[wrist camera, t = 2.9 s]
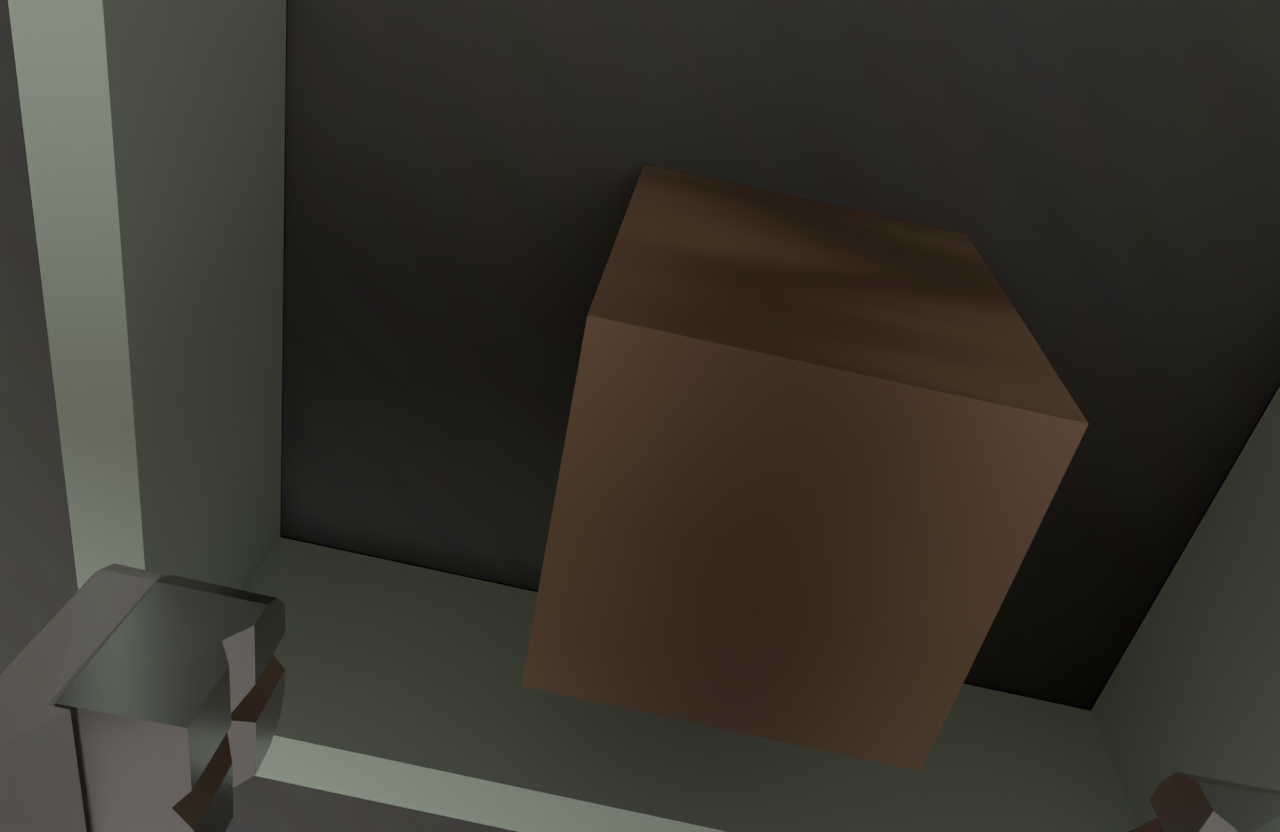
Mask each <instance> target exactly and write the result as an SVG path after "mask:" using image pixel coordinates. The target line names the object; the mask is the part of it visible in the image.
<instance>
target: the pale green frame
mask: <svg viewBox="0 0 1280 832" xmlns="http://www.w3.org/2000/svg"><path fill="white" fill-rule="evenodd" d="M8 5H9V13H10V21H11V30H12V38H13V47H14V55H15V63H16V72H17V80H18V88H19V97H20V105H21V114H22V122H23V130H24V139H25V147H26V156H27V164H28V172H29V181H30V189H31V197H32V206H33V214H34V223H35V231H36V239H37V248H38V256H39V265H40V273H41V281H42V290H43V298H44V307H45V315H46V323H47V332H48V340H49V348H50V357H51V365H52V374H53V382H54V390H55V399H56V407H57V416H58V424H59V432H60V441H61V449H62V458H63V466H64V474H65V483H66V491H67V499H68V508H69V516H70V525H71V533H72V541H73V550H74V558H75V567H76V575H77V583H78V590H79V589H80V588H81V587H82V586H83V585H84V584H85V583H86V582H87V580H88V579H89V578H90V577H91V576H92V575H93V574H94V573H95V572H96V571H98V570H99V569H102V568H104V567H106V566H109V565H111V564H113V563H115V564H120V565H124V566H129V567H133V568H137V569H142V570H146V571H151V572H155V573H159V574H164V575H170V574H171V575H175V576H180V577H184V578H189V579H194V580H198V581H203V582H207V583H212V584H216V585H221V586H226V587H230V588H235V589H239V590H244V591H248V592H253V593H258V594H262V595H267V596H271V597H276V598H278V599H279V600H281V601H282V602H283V603H284V604H285V630H286V633H285V634H284V636H283V638H282V640H281V641H280V643H279V645H278V646H277V648H276V650H275V652H274V653H273V654H274V656H275V657H276V658H277V660H278V661H279V662H280V664H281V665H282V666H283V668H284V669H285V691H284V697H283V703H282V709H281V715H280V718H279V721H278V724H277V727H276V730H275V733H274V736H273V738H272V741H271V744H270V747H269V749H268V751H267V753H266V755H265V757H264V759H263V761H262V763H261V765H260V767H259V769H258V771H257V773H256V774H255V775H254V776H259V777H263V778H268V779H273V780H277V781H282V782H287V783H292V784H296V785H301V786H306V787H310V788H315V789H320V790H324V791H329V792H334V793H339V794H343V795H348V796H353V797H357V798H362V799H367V800H372V801H376V802H381V803H386V804H390V805H395V806H400V807H405V808H409V809H414V810H419V811H423V812H428V813H433V814H437V815H442V816H447V817H452V818H456V819H461V820H466V821H470V822H475V823H480V824H485V825H489V826H494V827H499V828H503V829H508V830H513V831H517V832H1129V831H1131V830H1133V829H1135V828H1137V827H1139V826H1141V825H1143V824H1145V823H1147V822H1149V821H1151V820H1153V819H1155V817H1154V814H1153V810H1152V807H1151V804H1150V801H1149V799H1150V797H1151V796H1152V794H1153V793H1154V791H1155V790H1156V788H1157V787H1158V786H1159V784H1160V783H1161V781H1162V780H1164V779H1166V778H1167V777H1169V776H1171V775H1173V774H1174V773H1176V772H1180V773H1185V774H1191V775H1196V776H1202V777H1207V778H1213V779H1218V780H1223V781H1229V782H1234V783H1240V784H1245V785H1250V786H1256V787H1261V788H1267V789H1272V790H1277V791H1280V387H1279V388H1278V390H1277V392H1276V394H1275V395H1274V397H1273V399H1272V400H1271V402H1270V404H1269V406H1268V407H1267V409H1266V411H1265V412H1264V414H1263V416H1262V418H1261V419H1260V421H1259V423H1258V424H1257V426H1256V428H1255V430H1254V431H1253V433H1252V435H1251V436H1250V438H1249V440H1248V442H1247V443H1246V445H1245V447H1244V449H1243V450H1242V452H1241V454H1240V455H1239V457H1238V459H1237V461H1236V462H1235V464H1234V466H1233V467H1232V469H1231V471H1230V473H1229V474H1228V476H1227V478H1226V479H1225V481H1224V483H1223V485H1222V486H1221V488H1220V490H1219V491H1218V493H1217V495H1216V497H1215V498H1214V500H1213V502H1212V503H1211V505H1210V507H1209V509H1208V510H1207V512H1206V514H1205V515H1204V517H1203V519H1202V521H1201V522H1200V524H1199V526H1198V528H1197V529H1196V531H1195V533H1194V534H1193V536H1192V538H1191V540H1190V541H1189V543H1188V545H1187V546H1186V548H1185V550H1184V552H1183V553H1182V555H1181V557H1180V558H1179V560H1178V562H1177V564H1176V565H1175V567H1174V569H1173V570H1172V572H1171V574H1170V576H1169V577H1168V579H1167V581H1166V582H1165V584H1164V586H1163V588H1162V589H1161V591H1160V593H1159V595H1158V596H1157V598H1156V600H1155V601H1154V603H1153V605H1152V607H1151V608H1150V610H1149V612H1148V613H1147V615H1146V617H1145V619H1144V620H1143V622H1142V624H1141V625H1140V627H1139V629H1138V631H1137V632H1136V634H1135V636H1134V637H1133V639H1132V641H1131V643H1130V644H1129V646H1128V648H1127V649H1126V651H1125V653H1124V655H1123V656H1122V658H1121V660H1120V661H1119V663H1118V665H1117V667H1116V668H1115V670H1114V672H1113V674H1112V675H1111V677H1110V679H1109V680H1108V682H1107V684H1106V686H1105V687H1104V689H1103V691H1102V692H1101V694H1100V696H1099V698H1098V699H1097V701H1096V703H1095V704H1094V706H1093V708H1092V710H1091V711H1089V710H1084V709H1080V708H1075V707H1070V706H1066V705H1061V704H1056V703H1052V702H1047V701H1042V700H1038V699H1033V698H1028V697H1024V696H1019V695H1014V694H1010V693H1005V692H1000V691H996V690H991V689H986V688H982V687H977V686H972V685H968V684H963V685H962V687H961V689H960V691H959V693H958V695H957V697H956V699H955V701H954V703H953V706H952V708H951V710H950V712H949V714H948V716H947V718H946V720H945V722H944V724H943V726H942V728H941V730H940V732H939V734H938V737H937V739H936V741H935V743H934V745H933V747H932V749H931V751H930V753H929V755H928V757H927V759H926V761H925V763H924V765H923V768H922V770H921V771H916V770H912V769H907V768H902V767H898V766H893V765H888V764H884V763H879V762H874V761H870V760H865V759H860V758H856V757H851V756H846V755H842V754H837V753H832V752H828V751H823V750H818V749H814V748H809V747H804V746H800V745H795V744H790V743H786V742H781V741H776V740H772V739H767V738H762V737H758V736H753V735H748V734H743V733H739V732H734V731H729V730H725V729H720V728H715V727H711V726H706V725H701V724H697V723H692V722H687V721H683V720H678V719H673V718H669V717H664V716H659V715H655V714H650V713H645V712H641V711H636V710H631V709H627V708H622V707H617V706H613V705H608V704H603V703H599V702H594V701H589V700H585V699H580V698H575V697H571V696H566V695H561V694H557V693H552V692H547V691H543V690H538V689H533V688H528V687H524V686H521V684H522V678H523V672H524V667H525V661H526V656H527V650H528V644H529V639H530V633H531V628H532V622H533V617H534V611H535V605H536V600H537V594H538V592H534V591H529V590H524V589H520V588H515V587H510V586H506V585H501V584H496V583H492V582H487V581H482V580H478V579H473V578H468V577H464V576H459V575H454V574H450V573H445V572H440V571H436V570H431V569H426V568H422V567H417V566H412V565H408V564H403V563H398V562H394V561H389V560H384V559H380V558H375V557H370V556H366V555H361V554H356V553H352V552H347V551H342V550H338V549H333V548H328V547H324V546H319V545H314V544H310V543H305V542H300V541H296V540H291V539H286V538H282V537H280V521H281V432H282V343H283V255H284V166H285V77H286V0H8Z"/></svg>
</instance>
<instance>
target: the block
mask: <svg viewBox="0 0 1280 832" xmlns="http://www.w3.org/2000/svg"><path fill="white" fill-rule="evenodd" d="M1088 424H1089V423H1088V422H1087V420H1086V419H1085V417H1084V416H1083V414H1082V412H1081V411H1080V409H1079V408H1078V406H1077V405H1076V403H1075V401H1074V400H1073V398H1072V397H1071V395H1070V394H1069V392H1068V391H1067V389H1066V387H1065V386H1064V384H1063V383H1062V381H1061V380H1060V378H1059V377H1058V375H1057V373H1056V372H1055V370H1054V369H1053V367H1052V366H1051V364H1050V363H1049V361H1048V359H1047V358H1046V356H1045V355H1044V353H1043V352H1042V350H1041V349H1040V347H1039V345H1038V344H1037V342H1036V341H1035V339H1034V338H1033V336H1032V335H1031V333H1030V331H1029V330H1028V328H1027V327H1026V325H1025V324H1024V322H1023V320H1022V319H1021V317H1020V316H1019V314H1018V313H1017V311H1016V310H1015V308H1014V306H1013V305H1012V303H1011V302H1010V300H1009V299H1008V297H1007V296H1006V294H1005V292H1004V291H1003V289H1002V288H1001V286H1000V285H999V283H998V282H997V280H996V278H995V277H994V275H993V274H992V272H991V271H990V269H989V268H988V266H987V264H986V263H985V261H984V260H983V258H982V257H981V255H980V254H979V252H978V250H977V249H976V247H975V246H974V244H973V243H972V241H971V239H970V238H969V236H968V235H967V234H963V233H958V232H954V231H949V230H945V229H940V228H935V227H931V226H926V225H922V224H917V223H912V222H908V221H903V220H899V219H894V218H890V217H885V216H880V215H876V214H871V213H867V212H862V211H857V210H853V209H848V208H844V207H839V206H834V205H830V204H825V203H821V202H816V201H811V200H807V199H802V198H798V197H793V196H789V195H784V194H779V193H775V192H770V191H766V190H761V189H756V188H752V187H747V186H743V185H738V184H733V183H729V182H724V181H720V180H715V179H710V178H706V177H701V176H697V175H692V174H688V173H683V172H678V171H674V170H669V169H665V168H660V167H655V166H651V165H646V164H644V166H643V168H642V171H641V174H640V176H639V179H638V182H637V184H636V187H635V190H634V192H633V195H632V198H631V200H630V203H629V206H628V208H627V211H626V214H625V216H624V219H623V222H622V224H621V227H620V230H619V232H618V235H617V238H616V240H615V243H614V246H613V248H612V251H611V254H610V256H609V259H608V262H607V264H606V267H605V270H604V272H603V275H602V278H601V280H600V283H599V286H598V288H597V291H596V294H595V296H594V299H593V302H592V304H591V307H590V310H589V312H588V315H587V320H586V326H585V332H584V337H583V343H582V348H581V354H580V360H579V365H578V371H577V376H576V382H575V387H574V393H573V399H572V404H571V410H570V415H569V421H568V427H567V432H566V438H565V443H564V449H563V455H562V460H561V466H560V471H559V477H558V482H557V488H556V494H555V499H554V505H553V510H552V516H551V522H550V527H549V533H548V538H547V544H546V550H545V555H544V561H543V566H542V572H541V577H540V583H539V589H538V594H537V600H536V605H535V611H534V617H533V622H532V628H531V633H530V639H529V644H528V650H527V656H526V661H525V667H524V672H523V678H522V684H521V686H524V687H528V688H533V689H538V690H543V691H547V692H552V693H557V694H561V695H566V696H571V697H575V698H580V699H585V700H589V701H594V702H599V703H603V704H608V705H613V706H617V707H622V708H627V709H631V710H636V711H641V712H645V713H650V714H655V715H659V716H664V717H669V718H673V719H678V720H683V721H687V722H692V723H697V724H701V725H706V726H711V727H715V728H720V729H725V730H729V731H734V732H739V733H743V734H748V735H753V736H758V737H762V738H767V739H772V740H776V741H781V742H786V743H790V744H795V745H800V746H804V747H809V748H814V749H818V750H823V751H828V752H832V753H837V754H842V755H846V756H851V757H856V758H860V759H865V760H870V761H874V762H879V763H884V764H888V765H893V766H898V767H902V768H907V769H912V770H916V771H921V770H922V768H923V765H924V763H925V761H926V759H927V757H928V755H929V753H930V751H931V749H932V747H933V745H934V743H935V741H936V739H937V737H938V734H939V732H940V730H941V728H942V726H943V724H944V722H945V720H946V718H947V716H948V714H949V712H950V710H951V708H952V706H953V703H954V701H955V699H956V697H957V695H958V693H959V691H960V689H961V687H962V685H963V683H964V681H965V679H966V677H967V675H968V672H969V670H970V668H971V666H972V664H973V662H974V660H975V658H976V656H977V654H978V652H979V650H980V648H981V646H982V644H983V641H984V639H985V637H986V635H987V633H988V631H989V629H990V627H991V625H992V623H993V621H994V619H995V617H996V615H997V613H998V610H999V608H1000V606H1001V604H1002V602H1003V600H1004V598H1005V596H1006V594H1007V592H1008V590H1009V588H1010V586H1011V584H1012V582H1013V579H1014V577H1015V575H1016V573H1017V571H1018V569H1019V567H1020V565H1021V563H1022V561H1023V559H1024V557H1025V555H1026V553H1027V551H1028V548H1029V546H1030V544H1031V542H1032V540H1033V538H1034V536H1035V534H1036V532H1037V530H1038V528H1039V526H1040V524H1041V522H1042V520H1043V517H1044V515H1045V513H1046V511H1047V509H1048V507H1049V505H1050V503H1051V501H1052V499H1053V497H1054V495H1055V493H1056V491H1057V489H1058V486H1059V484H1060V482H1061V480H1062V478H1063V476H1064V474H1065V472H1066V470H1067V468H1068V466H1069V464H1070V462H1071V460H1072V458H1073V455H1074V453H1075V451H1076V449H1077V447H1078V445H1079V443H1080V441H1081V439H1082V437H1083V435H1084V433H1085V431H1086V429H1087V427H1088Z"/></svg>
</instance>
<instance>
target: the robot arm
mask: <svg viewBox="0 0 1280 832" xmlns="http://www.w3.org/2000/svg"><path fill="white" fill-rule="evenodd" d="M285 633H286V630H285V604H284V603H283V602H282V601H281V600H279V599H278V598H276V597H271V596H267V595H262V594H258V593H253V592H248V591H244V590H239V589H235V588H230V587H226V586H221V585H216V584H212V583H207V582H203V581H198V580H194V579H189V578H184V577H180V576H175V575H171V574H170V575H164V574H159V573H155V572H151V571H146V570H142V569H137V568H133V567H129V566H124V565H120V564H115V563H113V564H111V565H109V566H106V567H104V568H102V569H99V570H98V571H96V572H95V573H94V574H93V575H92V576H91V577H90V578H89V579H88V580H87V582H86V583H85V584H84V585H83V586H82V587H81V588H80V589H79V590H78V591H77V592H76V593H75V594H74V595H73V596H72V598H71V599H70V600H69V601H68V602H67V603H66V604H65V605H64V606H63V607H62V608H61V609H60V610H59V611H58V613H57V614H56V615H55V616H54V617H53V618H52V619H51V620H50V621H49V622H48V623H47V624H46V625H45V626H44V627H43V629H42V630H41V631H40V632H39V633H38V634H37V635H36V636H35V637H34V638H33V639H32V640H31V641H30V642H29V643H28V645H27V646H26V647H25V648H24V649H23V650H22V651H21V652H20V653H19V654H18V655H17V656H16V657H15V658H14V660H13V661H12V662H11V663H10V664H9V665H8V666H7V667H6V668H5V669H4V670H3V671H2V672H1V673H0V832H225V831H226V829H227V827H228V825H229V823H230V822H231V820H232V818H233V788H234V787H235V786H237V785H239V784H240V783H242V782H244V781H245V780H247V779H248V778H250V777H252V776H253V775H255V774H256V773H257V771H258V769H259V767H260V765H261V763H262V761H263V759H264V757H265V755H266V753H267V751H268V749H269V747H270V744H271V741H272V738H273V736H274V733H275V730H276V727H277V724H278V721H279V718H280V715H281V709H282V703H283V697H284V691H285V669H284V668H283V666H282V665H281V664H280V662H279V661H278V660H277V658H276V657H275V656H274V654H273V653H274V652H275V650H276V648H277V646H278V645H279V643H280V641H281V640H282V638H283V636H284V634H285ZM1149 801H1150V804H1151V807H1152V810H1153V814H1154V817H1155V819H1153V820H1151V821H1149V822H1147V823H1145V824H1143V825H1141V826H1139V827H1137V828H1135V829H1133V830H1131V831H1129V832H1280V791H1277V790H1272V789H1267V788H1261V787H1256V786H1250V785H1245V784H1240V783H1234V782H1229V781H1223V780H1218V779H1213V778H1207V777H1202V776H1196V775H1191V774H1185V773H1180V772H1176V773H1174V774H1173V775H1171V776H1169V777H1167V778H1166V779H1164V780H1162V781H1161V783H1160V784H1159V786H1158V787H1157V788H1156V790H1155V791H1154V793H1153V794H1152V796H1151V797H1150V799H1149Z"/></svg>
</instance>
